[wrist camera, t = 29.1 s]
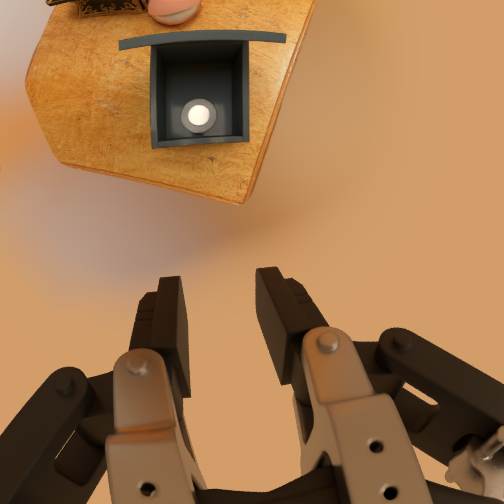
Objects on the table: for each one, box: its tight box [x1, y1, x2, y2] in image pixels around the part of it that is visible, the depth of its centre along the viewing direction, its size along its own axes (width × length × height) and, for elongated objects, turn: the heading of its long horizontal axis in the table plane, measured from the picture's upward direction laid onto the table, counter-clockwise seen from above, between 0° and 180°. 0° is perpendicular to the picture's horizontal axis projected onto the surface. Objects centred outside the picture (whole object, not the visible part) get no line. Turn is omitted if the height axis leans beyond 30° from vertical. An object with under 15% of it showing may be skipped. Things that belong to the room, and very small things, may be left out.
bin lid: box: [119, 30, 286, 50], centre depth 18 cm, size 14×12×1 cm
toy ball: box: [148, 0, 201, 25], centre depth 25 cm, size 8×8×8 cm
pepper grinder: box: [181, 99, 217, 133], centre depth 33 cm, size 5×5×8 cm
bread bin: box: [150, 40, 249, 149], centre depth 31 cm, size 14×12×11 cm
